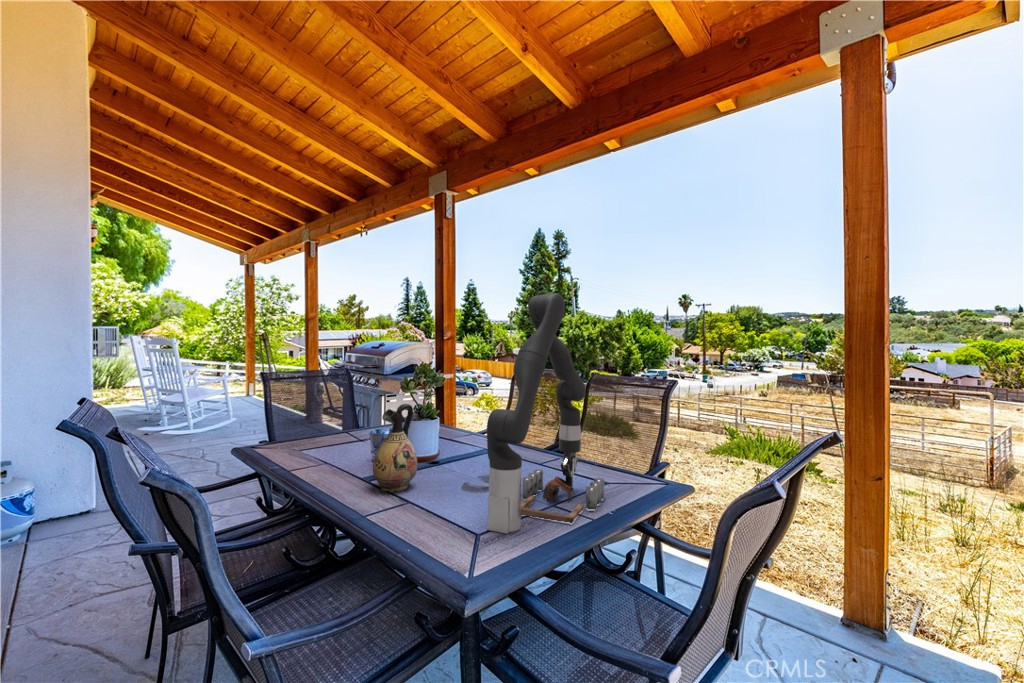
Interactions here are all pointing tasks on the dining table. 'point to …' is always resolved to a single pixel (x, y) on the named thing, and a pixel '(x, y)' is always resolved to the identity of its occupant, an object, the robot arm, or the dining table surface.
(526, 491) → the metal posts
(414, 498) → the dining table surface
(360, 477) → the dining table surface
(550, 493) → the pottery mug
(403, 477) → the ceramic jug
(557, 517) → the walnut frame
